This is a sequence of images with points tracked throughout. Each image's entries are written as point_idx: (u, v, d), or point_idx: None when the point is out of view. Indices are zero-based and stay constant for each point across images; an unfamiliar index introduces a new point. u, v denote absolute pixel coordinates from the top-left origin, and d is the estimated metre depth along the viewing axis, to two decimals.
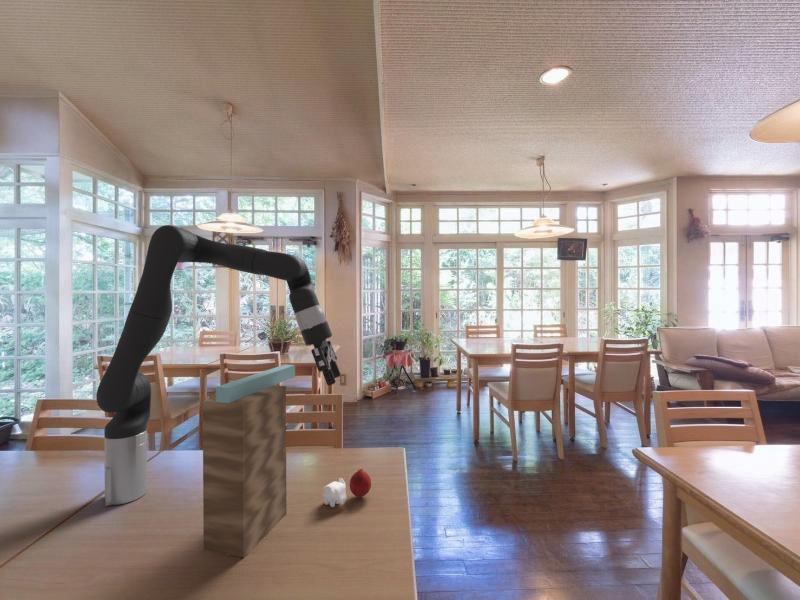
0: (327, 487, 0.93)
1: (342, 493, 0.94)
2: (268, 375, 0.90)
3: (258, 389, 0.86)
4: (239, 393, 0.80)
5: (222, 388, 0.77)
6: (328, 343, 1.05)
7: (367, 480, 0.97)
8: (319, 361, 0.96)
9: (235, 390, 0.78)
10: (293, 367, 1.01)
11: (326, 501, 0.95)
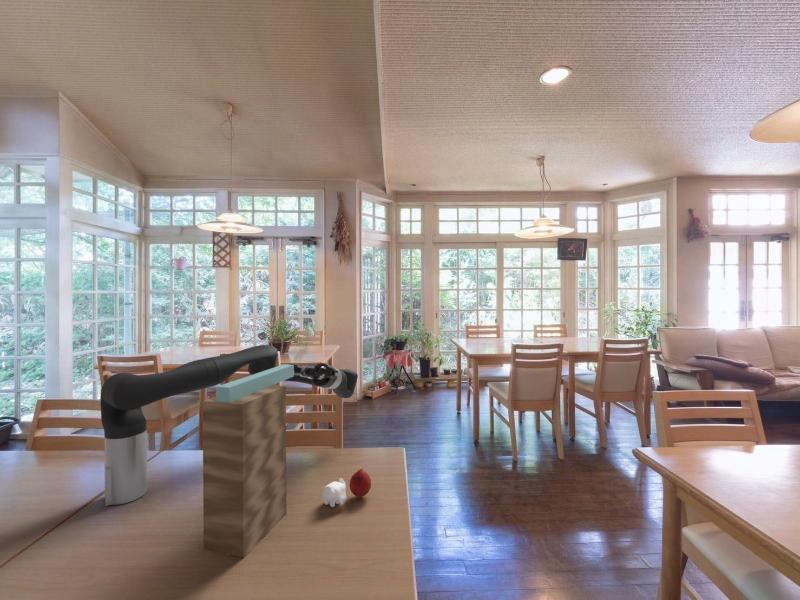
0: (327, 487, 0.93)
1: (342, 493, 0.94)
2: (268, 375, 0.90)
3: (258, 389, 0.86)
4: (240, 393, 0.80)
5: (223, 388, 0.77)
6: None
7: (367, 479, 0.97)
8: None
9: (236, 389, 0.79)
10: (292, 367, 1.01)
11: (326, 501, 0.95)
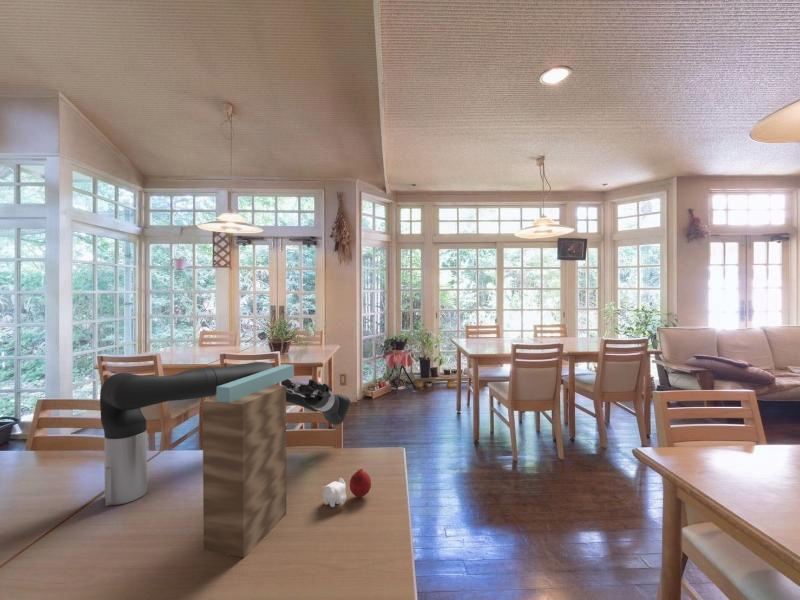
0: (327, 487, 0.93)
1: (342, 493, 0.94)
2: (268, 375, 0.90)
3: (258, 389, 0.86)
4: (240, 393, 0.80)
5: (223, 388, 0.77)
6: (294, 392, 1.14)
7: (367, 480, 0.97)
8: None
9: (236, 389, 0.79)
10: (292, 367, 1.01)
11: (326, 501, 0.95)
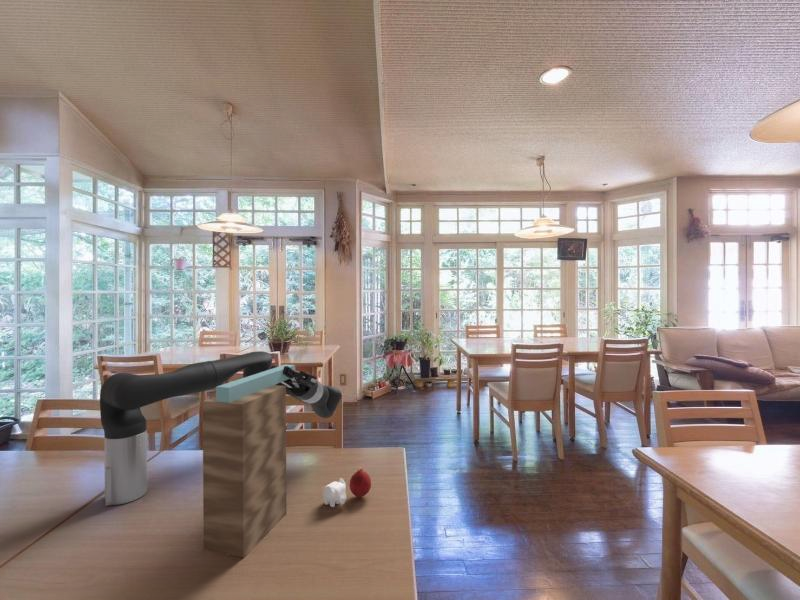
0: (327, 487, 0.93)
1: (342, 493, 0.94)
2: (268, 375, 0.90)
3: (258, 389, 0.86)
4: (240, 393, 0.80)
5: (222, 388, 0.77)
6: None
7: (367, 479, 0.97)
8: None
9: (235, 389, 0.78)
10: (293, 367, 1.01)
11: (326, 501, 0.95)
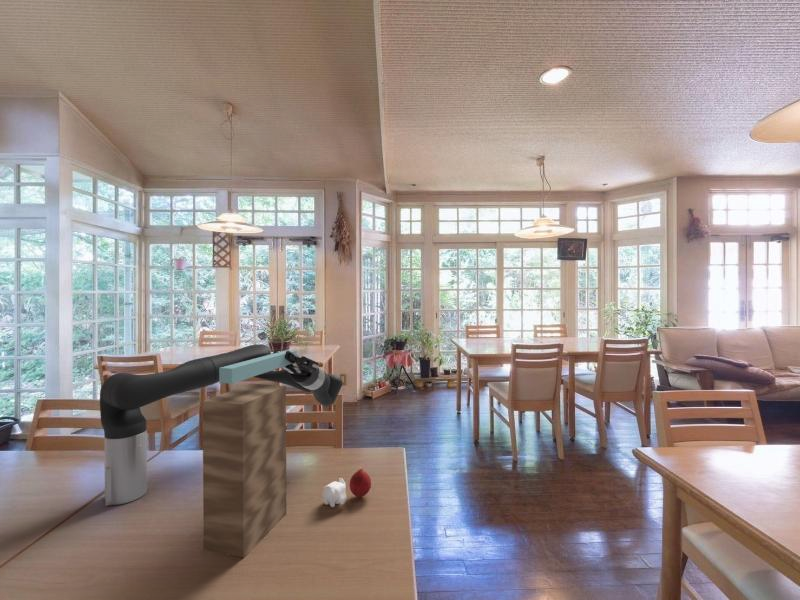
0: (327, 487, 0.93)
1: (342, 493, 0.94)
2: (270, 359, 0.91)
3: (261, 372, 0.87)
4: (242, 375, 0.80)
5: (225, 369, 0.78)
6: None
7: (367, 479, 0.97)
8: None
9: (238, 371, 0.79)
10: (295, 352, 1.02)
11: (326, 501, 0.95)
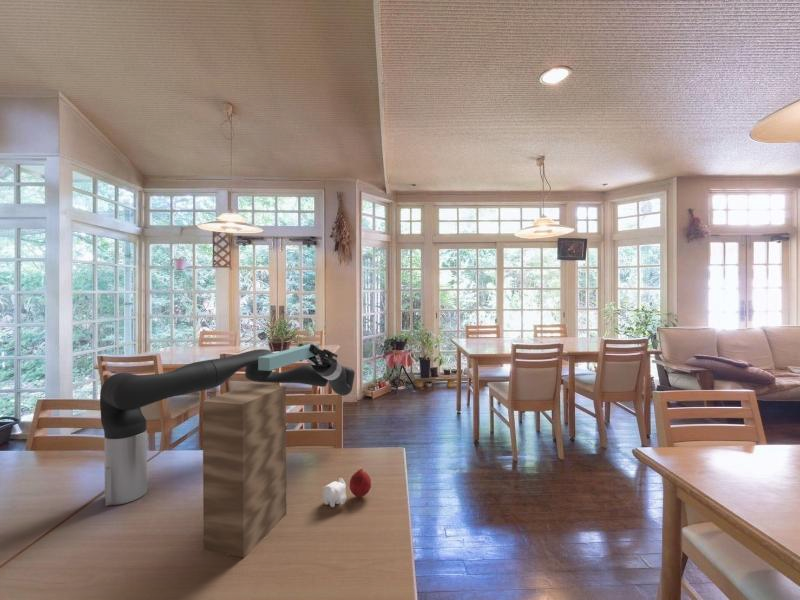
0: (327, 487, 0.93)
1: (342, 493, 0.94)
2: (298, 350, 1.03)
3: (291, 362, 1.00)
4: (277, 363, 0.93)
5: (264, 358, 0.90)
6: None
7: (367, 479, 0.97)
8: None
9: (274, 360, 0.92)
10: (317, 346, 1.14)
11: (326, 501, 0.95)
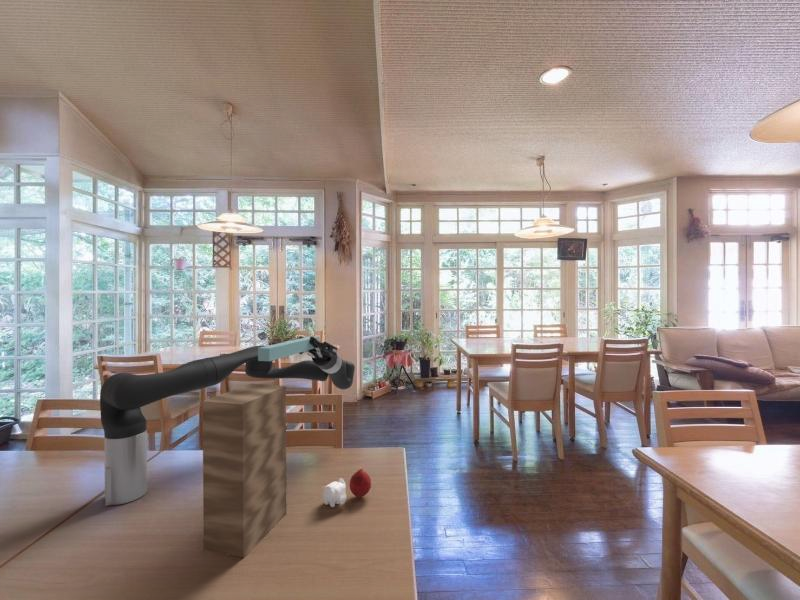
0: (327, 487, 0.93)
1: (342, 493, 0.94)
2: (298, 342, 1.03)
3: (291, 353, 0.99)
4: (277, 354, 0.93)
5: (263, 349, 0.90)
6: (302, 352, 1.19)
7: (367, 479, 0.97)
8: None
9: (274, 351, 0.92)
10: (317, 338, 1.14)
11: (326, 501, 0.95)
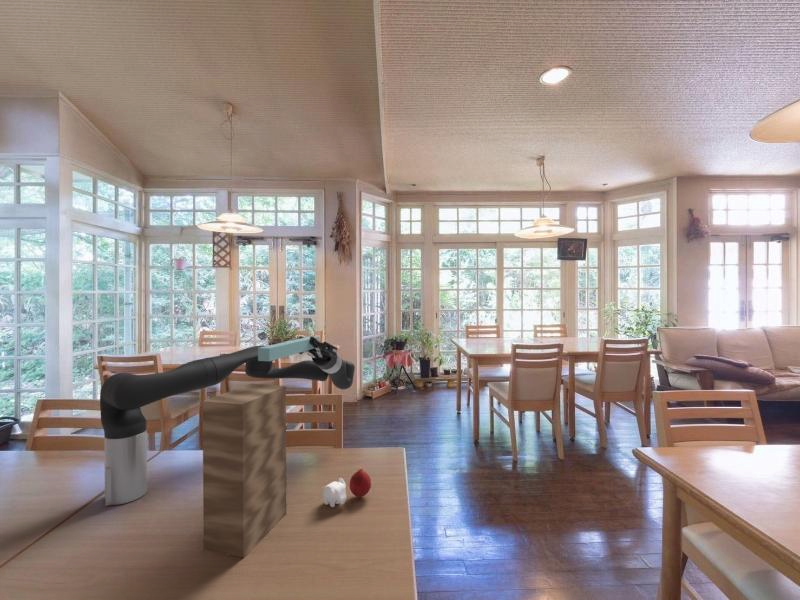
0: (327, 487, 0.93)
1: (342, 493, 0.94)
2: (298, 342, 1.03)
3: (291, 353, 0.99)
4: (277, 354, 0.93)
5: (263, 349, 0.90)
6: (302, 352, 1.19)
7: (367, 480, 0.97)
8: None
9: (274, 351, 0.92)
10: (317, 338, 1.14)
11: (326, 501, 0.95)
